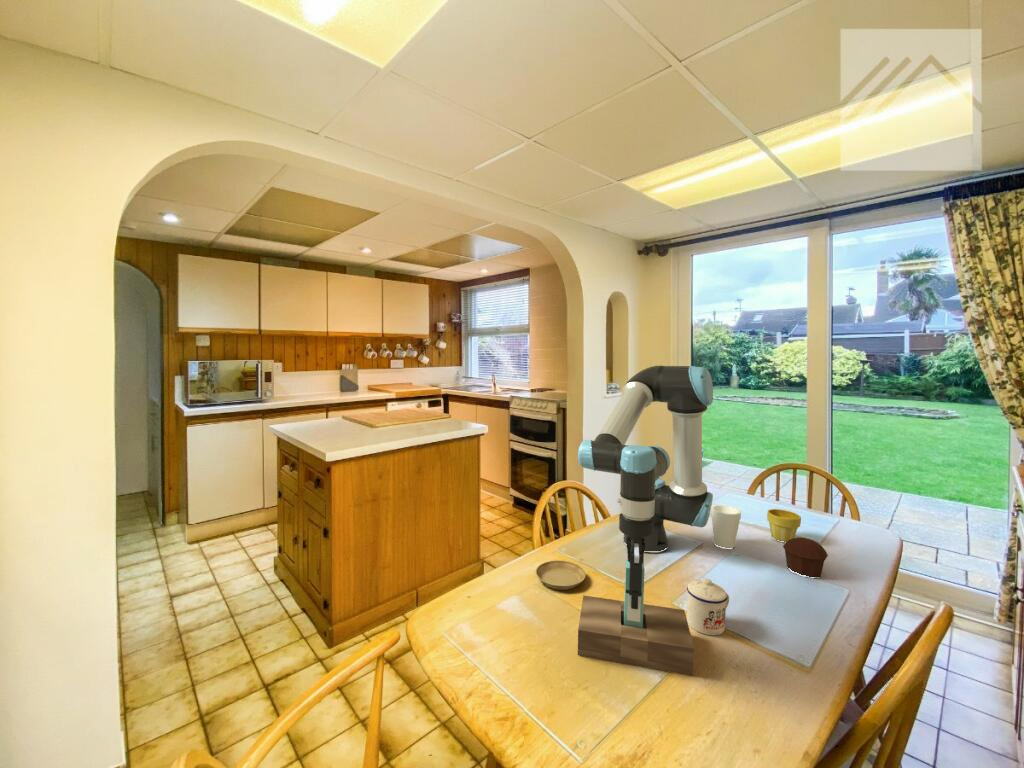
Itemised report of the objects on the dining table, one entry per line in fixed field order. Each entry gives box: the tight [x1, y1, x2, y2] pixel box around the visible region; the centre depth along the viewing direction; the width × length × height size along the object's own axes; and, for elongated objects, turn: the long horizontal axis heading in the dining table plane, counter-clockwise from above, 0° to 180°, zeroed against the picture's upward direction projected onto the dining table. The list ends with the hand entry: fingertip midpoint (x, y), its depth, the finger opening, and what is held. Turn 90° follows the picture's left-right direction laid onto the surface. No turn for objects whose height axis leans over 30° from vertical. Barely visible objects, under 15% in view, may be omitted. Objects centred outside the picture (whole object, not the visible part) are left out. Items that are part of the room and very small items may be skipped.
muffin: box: [782, 536, 829, 578], centre depth 133 cm, size 12×11×10 cm
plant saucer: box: [535, 559, 587, 591], centre depth 127 cm, size 15×15×3 cm
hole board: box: [577, 595, 695, 677], centre depth 99 cm, size 14×24×6 cm, turn 76°
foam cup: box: [710, 504, 742, 548], centre depth 151 cm, size 10×9×13 cm
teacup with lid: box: [686, 577, 730, 636], centre depth 107 cm, size 12×9×12 cm
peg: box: [623, 559, 645, 628], centre depth 98 cm, size 4×4×14 cm
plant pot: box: [766, 508, 802, 542], centre depth 156 cm, size 10×10×10 cm
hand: (633, 613), depth 98 cm, fingers closed on peg, 4 cm apart
